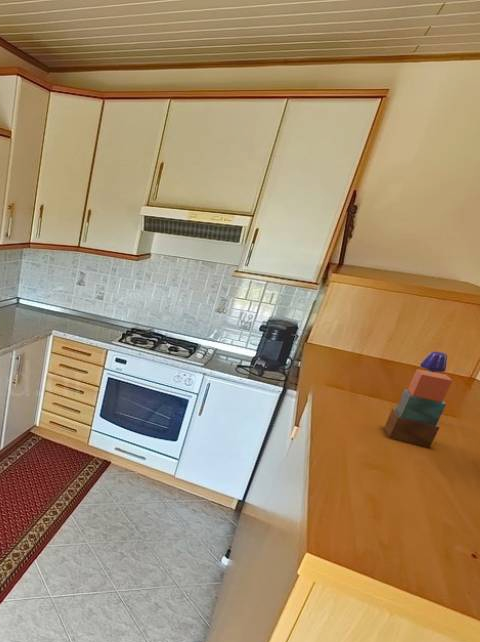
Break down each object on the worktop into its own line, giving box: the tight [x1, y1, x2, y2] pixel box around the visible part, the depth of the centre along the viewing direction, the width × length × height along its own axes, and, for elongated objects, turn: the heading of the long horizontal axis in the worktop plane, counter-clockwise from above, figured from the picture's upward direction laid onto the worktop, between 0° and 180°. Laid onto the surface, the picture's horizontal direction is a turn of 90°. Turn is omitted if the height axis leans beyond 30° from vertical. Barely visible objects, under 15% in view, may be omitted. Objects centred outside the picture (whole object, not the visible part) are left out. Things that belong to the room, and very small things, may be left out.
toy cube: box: [407, 368, 453, 402], centre depth 105 cm, size 5×5×5 cm
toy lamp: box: [419, 350, 448, 373], centre depth 120 cm, size 5×5×17 cm
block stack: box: [383, 388, 447, 449], centre depth 107 cm, size 7×7×10 cm
